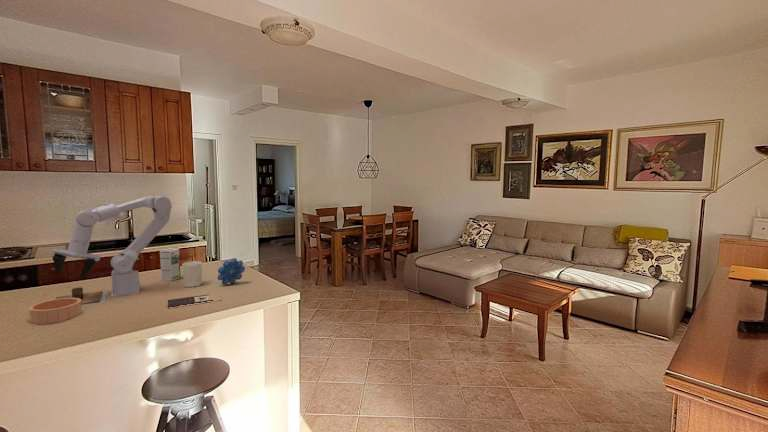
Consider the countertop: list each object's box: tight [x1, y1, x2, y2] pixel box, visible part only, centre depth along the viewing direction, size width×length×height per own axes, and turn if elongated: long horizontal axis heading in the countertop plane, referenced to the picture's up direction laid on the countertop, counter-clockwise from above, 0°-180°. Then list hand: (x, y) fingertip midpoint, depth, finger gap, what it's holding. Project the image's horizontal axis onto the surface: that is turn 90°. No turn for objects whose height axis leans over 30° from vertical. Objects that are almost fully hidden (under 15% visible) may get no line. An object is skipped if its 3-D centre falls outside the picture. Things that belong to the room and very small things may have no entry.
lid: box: [55, 287, 104, 305], centre depth 136 cm, size 14×14×5 cm
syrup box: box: [159, 247, 182, 282], centre depth 167 cm, size 6×6×14 cm
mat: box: [50, 290, 108, 307], centre depth 136 cm, size 17×17×1 cm
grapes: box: [216, 257, 246, 285], centre depth 162 cm, size 12×7×12 cm, turn 122°
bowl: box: [27, 298, 83, 325], centre depth 120 cm, size 13×13×4 cm
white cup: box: [181, 260, 203, 288], centre depth 159 cm, size 8×8×10 cm
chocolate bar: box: [167, 294, 213, 309], centre depth 139 cm, size 9×1×18 cm
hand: (70, 276), depth 134 cm, fingers open, 7 cm apart
